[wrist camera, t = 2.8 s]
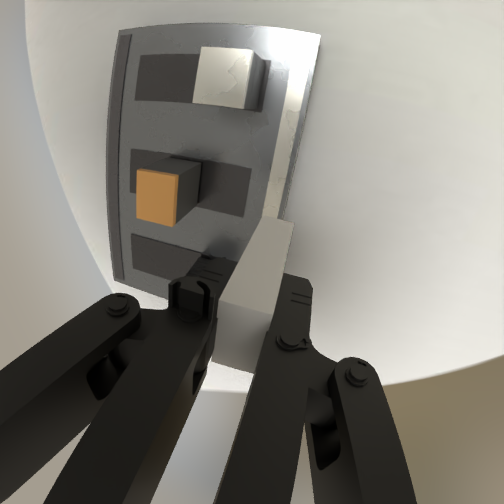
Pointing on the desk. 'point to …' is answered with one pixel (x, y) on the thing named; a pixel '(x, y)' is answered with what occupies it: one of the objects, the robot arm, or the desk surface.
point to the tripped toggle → (167, 190)
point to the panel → (203, 138)
